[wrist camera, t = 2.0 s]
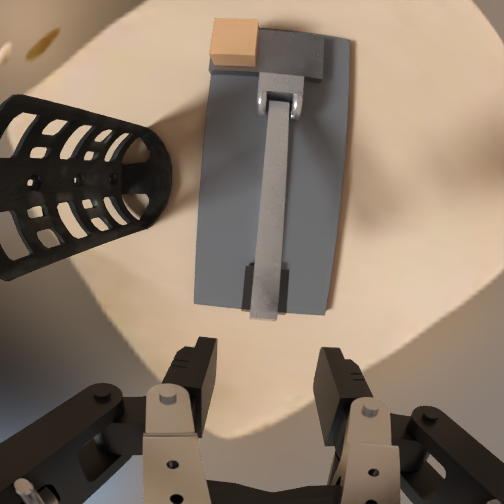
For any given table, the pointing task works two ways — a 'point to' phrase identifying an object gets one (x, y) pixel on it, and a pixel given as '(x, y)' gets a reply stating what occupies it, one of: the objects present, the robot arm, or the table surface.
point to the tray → (250, 185)
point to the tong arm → (270, 226)
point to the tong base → (281, 68)
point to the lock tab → (234, 42)
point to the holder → (87, 181)
